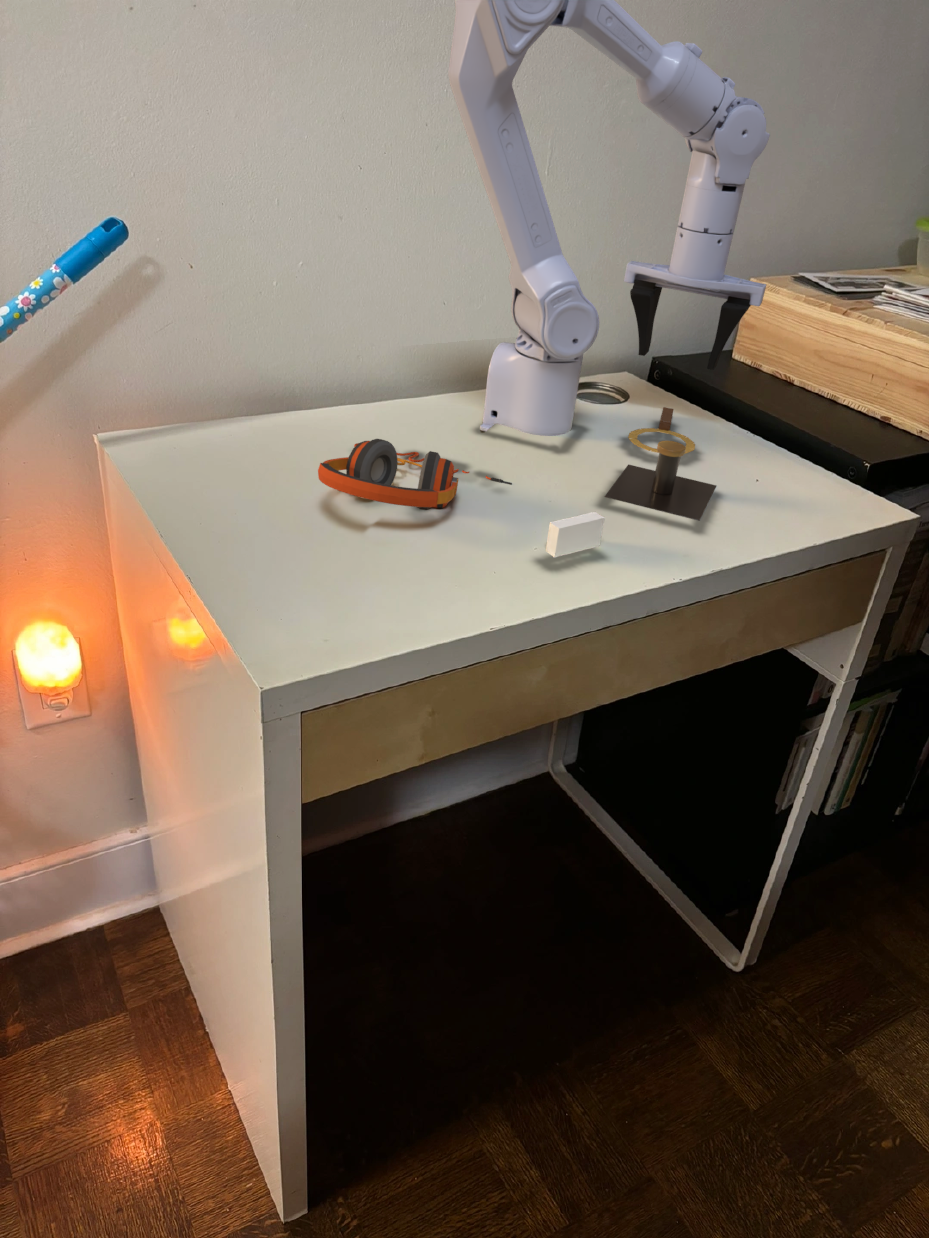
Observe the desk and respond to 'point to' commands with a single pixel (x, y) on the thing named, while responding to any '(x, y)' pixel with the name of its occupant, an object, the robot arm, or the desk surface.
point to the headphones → (391, 476)
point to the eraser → (574, 534)
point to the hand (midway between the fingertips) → (677, 360)
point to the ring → (663, 428)
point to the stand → (663, 486)
